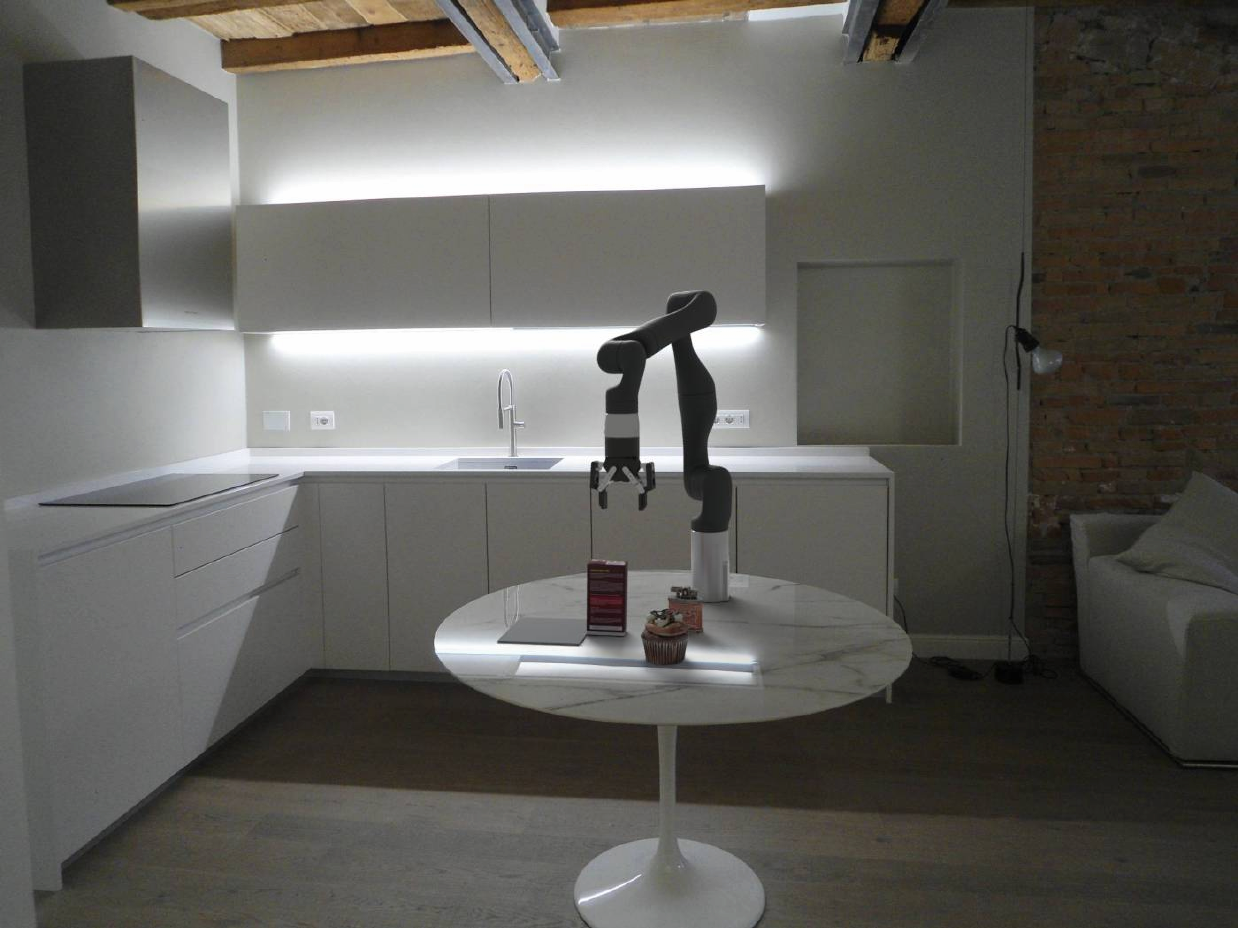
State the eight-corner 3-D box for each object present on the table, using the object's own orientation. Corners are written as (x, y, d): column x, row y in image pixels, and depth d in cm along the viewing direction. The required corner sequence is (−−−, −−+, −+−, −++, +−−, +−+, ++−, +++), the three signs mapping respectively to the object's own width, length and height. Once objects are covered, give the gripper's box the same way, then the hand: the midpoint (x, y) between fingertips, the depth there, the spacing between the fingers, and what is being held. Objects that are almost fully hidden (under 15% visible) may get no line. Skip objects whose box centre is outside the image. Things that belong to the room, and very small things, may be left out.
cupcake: (699, 658, 187) (698, 609, 186) (664, 670, 181) (663, 619, 179) (665, 647, 194) (665, 600, 193) (631, 658, 188) (630, 610, 187)
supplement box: (626, 630, 207) (628, 560, 205) (624, 636, 202) (626, 565, 200) (588, 628, 208) (589, 558, 206) (585, 634, 203) (586, 563, 201)
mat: (596, 621, 214) (596, 619, 214) (579, 645, 197) (579, 643, 197) (521, 618, 218) (521, 616, 217) (497, 642, 200) (497, 640, 200)
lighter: (705, 630, 205) (705, 586, 204) (700, 634, 202) (699, 589, 201) (671, 626, 209) (670, 583, 208) (665, 630, 206) (665, 586, 205)
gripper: (659, 434, 201) (659, 508, 203) (597, 433, 206) (597, 505, 208) (648, 436, 194) (649, 513, 196) (584, 435, 199) (585, 510, 201)
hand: (622, 509), depth 202 cm, fingers open, 8 cm apart
